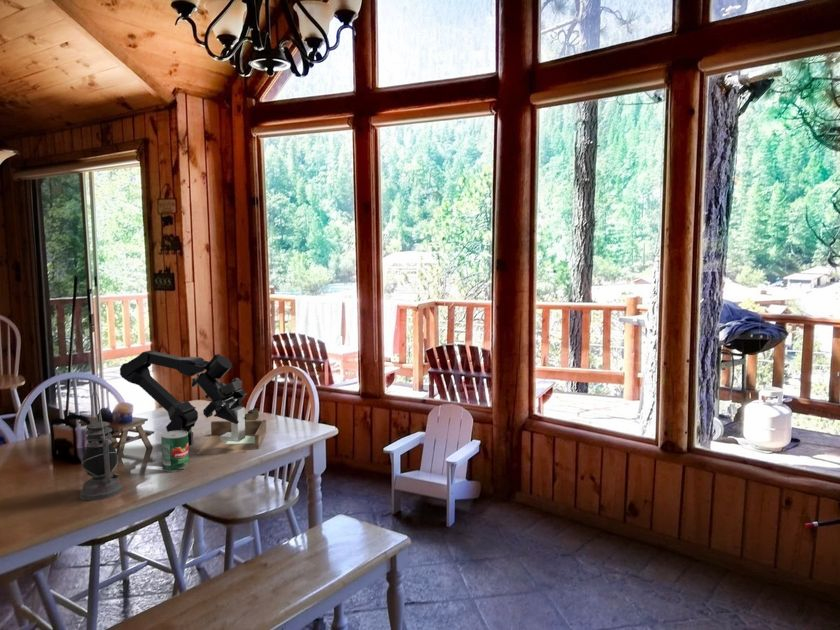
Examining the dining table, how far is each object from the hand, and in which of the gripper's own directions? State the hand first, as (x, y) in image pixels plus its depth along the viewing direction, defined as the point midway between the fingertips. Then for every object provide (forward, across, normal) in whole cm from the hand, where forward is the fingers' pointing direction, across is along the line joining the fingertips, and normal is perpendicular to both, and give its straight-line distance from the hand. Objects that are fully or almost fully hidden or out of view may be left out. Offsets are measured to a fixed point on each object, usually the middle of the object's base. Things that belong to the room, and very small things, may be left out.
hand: (241, 421), depth 194 cm
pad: (+4, +9, +12) cm, 15 cm away
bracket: (+2, 0, +7) cm, 8 cm away
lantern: (-7, -40, +23) cm, 46 cm away
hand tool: (-4, +30, +21) cm, 37 cm away
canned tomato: (-1, -17, +17) cm, 25 cm away
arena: (+3, +6, +13) cm, 15 cm away
